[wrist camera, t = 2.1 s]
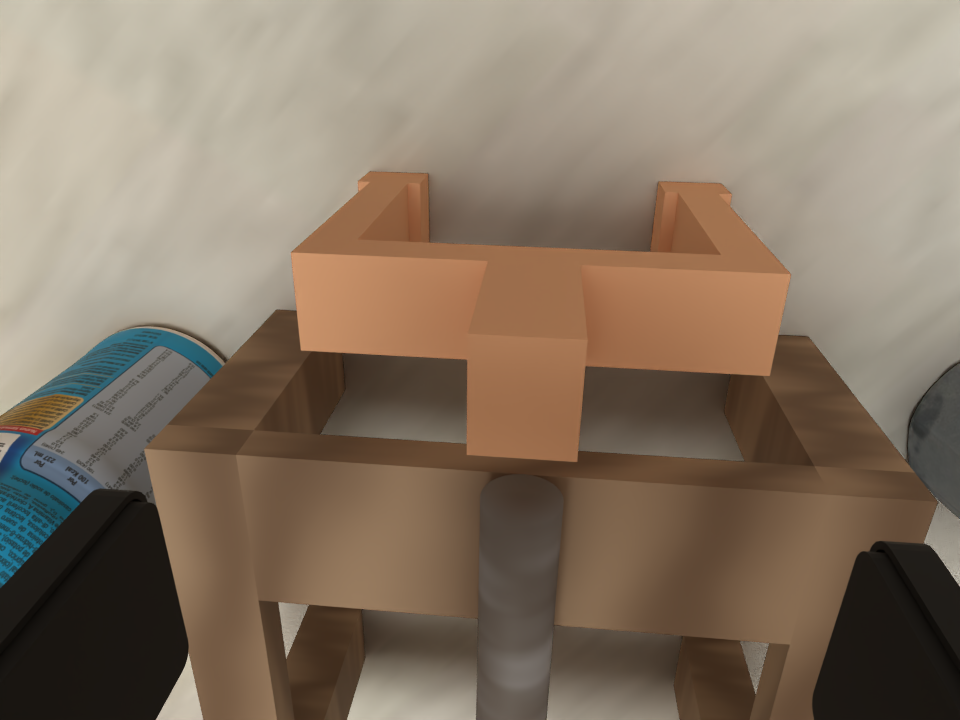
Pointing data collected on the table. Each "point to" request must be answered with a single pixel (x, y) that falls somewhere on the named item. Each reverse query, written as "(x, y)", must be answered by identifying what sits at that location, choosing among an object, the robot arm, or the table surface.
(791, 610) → the shelf
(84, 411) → the beverage bottle
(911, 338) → the table surface
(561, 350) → the tabbed u-shaped bracket
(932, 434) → the moka pot
